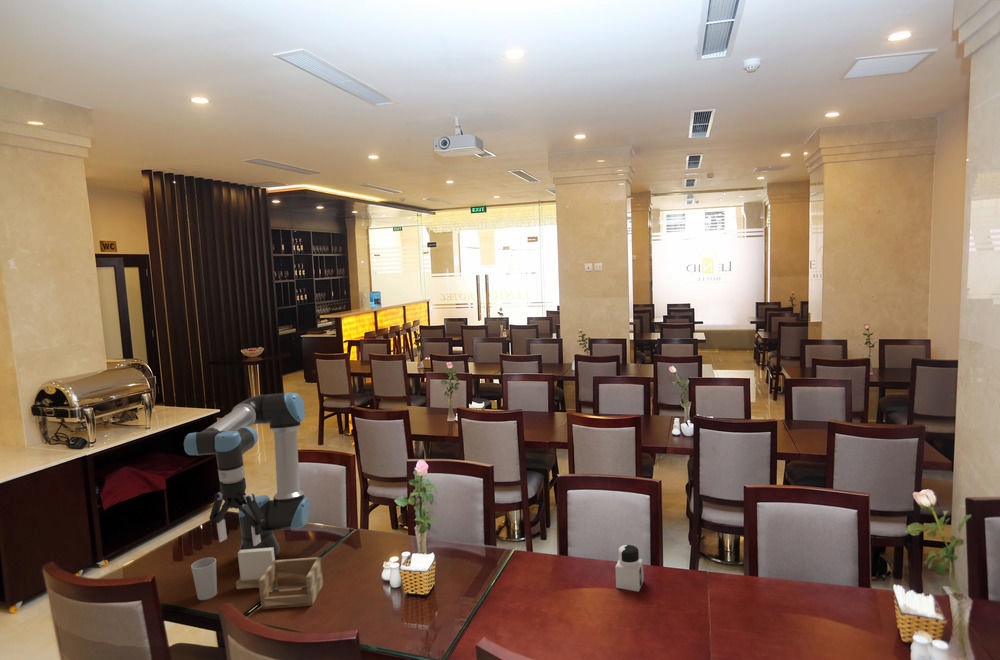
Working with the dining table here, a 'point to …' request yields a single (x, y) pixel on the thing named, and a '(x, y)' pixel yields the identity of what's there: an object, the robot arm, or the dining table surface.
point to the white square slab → (254, 562)
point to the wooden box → (291, 583)
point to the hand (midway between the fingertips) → (240, 542)
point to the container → (629, 569)
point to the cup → (205, 578)
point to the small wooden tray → (247, 584)
